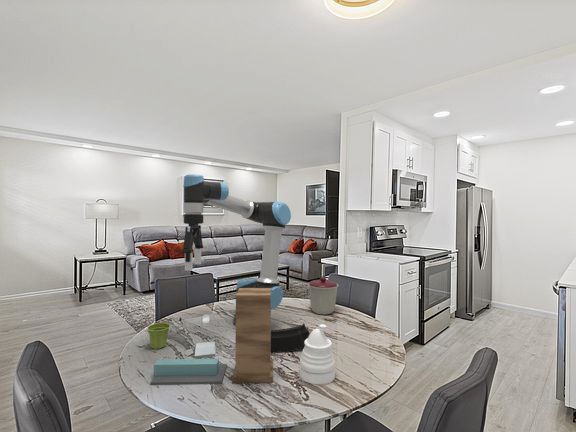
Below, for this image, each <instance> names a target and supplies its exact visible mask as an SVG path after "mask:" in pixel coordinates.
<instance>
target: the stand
mask: <svg viewBox="0 0 576 432" xmlns="http://www.w3.org/2000/svg"><path fill="white" fill-rule="evenodd" d="M235 312H236V325H235V351H234V352H235V353H234V354H235V366H234V369H233V374H232V376H231V384H268V383H269V384H273V383H274V360H273V359H272V358H271V354H272V353H271V330H272V329H271V328H272V327H271V326H272V325H271V324H272V310H271V288H239V290H238V292H237V294H235Z"/></svg>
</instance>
